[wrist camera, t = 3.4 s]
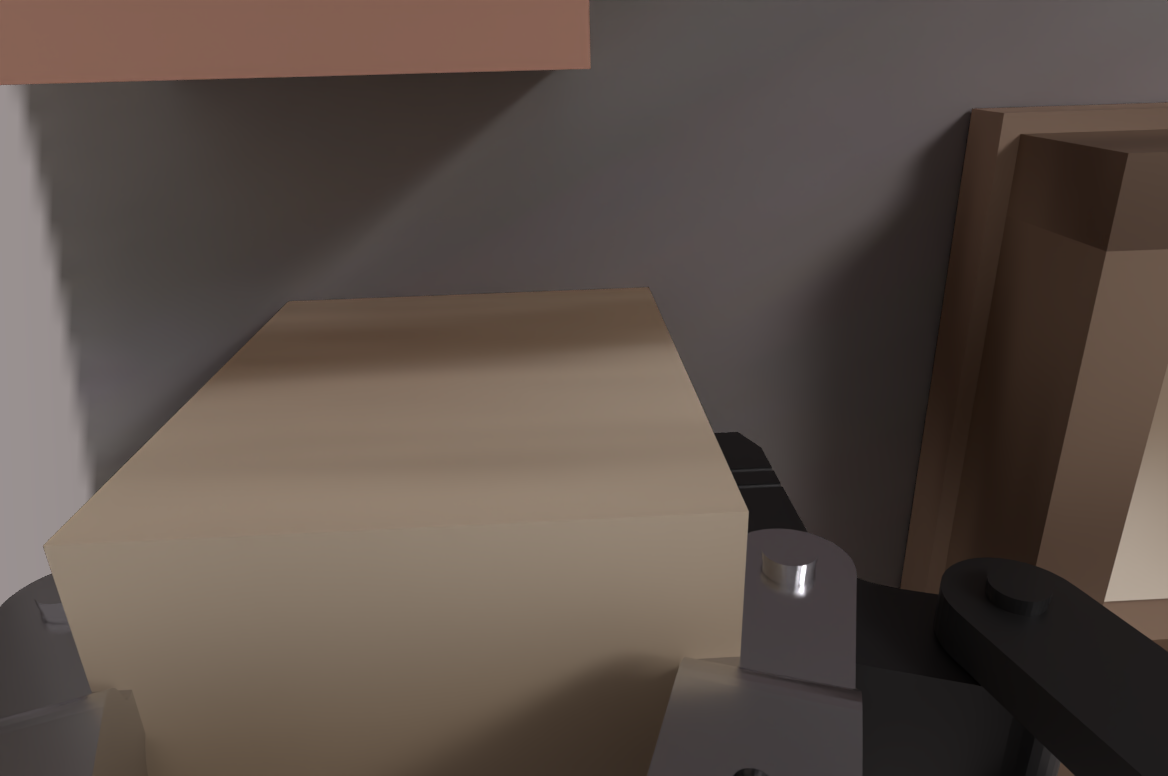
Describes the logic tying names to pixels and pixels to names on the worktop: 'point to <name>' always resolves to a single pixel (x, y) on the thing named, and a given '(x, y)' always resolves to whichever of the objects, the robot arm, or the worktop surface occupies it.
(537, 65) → the top block
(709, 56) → the worktop surface
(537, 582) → the base block
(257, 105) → the worktop surface
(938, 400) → the socket board
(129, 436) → the worktop surface
